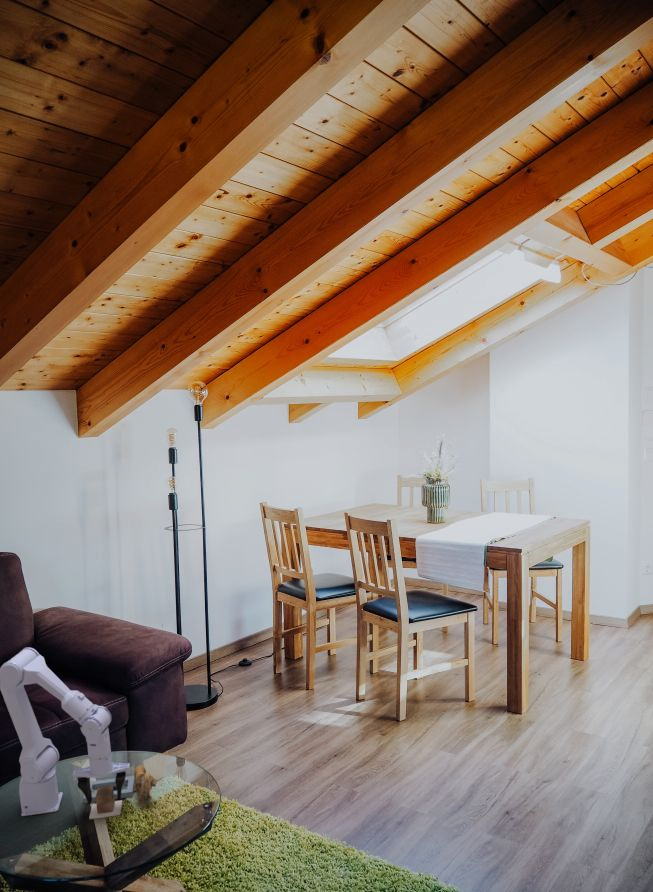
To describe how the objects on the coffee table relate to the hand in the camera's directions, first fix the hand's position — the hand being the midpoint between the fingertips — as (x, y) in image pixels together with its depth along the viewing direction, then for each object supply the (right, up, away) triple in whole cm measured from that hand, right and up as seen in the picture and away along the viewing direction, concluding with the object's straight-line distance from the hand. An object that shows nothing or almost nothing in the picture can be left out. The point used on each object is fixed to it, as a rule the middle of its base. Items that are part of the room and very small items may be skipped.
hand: (104, 799), depth 205 cm
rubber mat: (0, -3, +1) cm, 3 cm away
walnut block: (0, -3, +1) cm, 3 cm away
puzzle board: (-1, -2, +9) cm, 9 cm away
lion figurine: (+9, -2, +7) cm, 12 cm away
